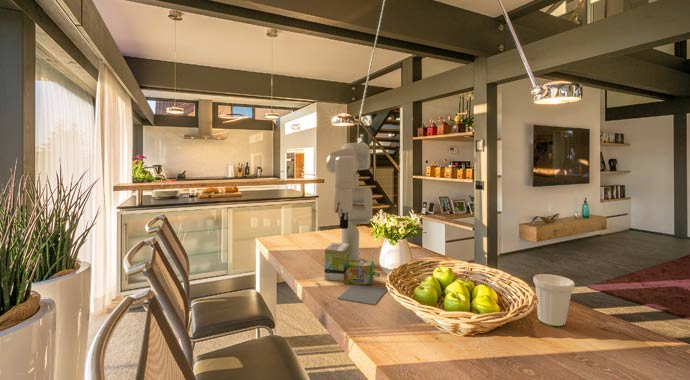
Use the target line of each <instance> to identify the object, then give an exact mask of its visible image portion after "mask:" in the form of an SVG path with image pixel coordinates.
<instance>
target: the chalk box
mask: <svg viewBox="0 0 690 380" xmlns="http://www.w3.org/2000/svg"><path fill="white" fill-rule="evenodd" d="M374 267H375V266H374V260H362V259H361V260H350V261H349V263H348V265H347V276H346V278H347V279H346V280H347V281H346V282H347V285H349V284H351V285H353V284H358V285H365V286H370V285H373V283H374V276H376V277H379V278H380V276H381V273H379V272H376V271H374Z"/></svg>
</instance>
